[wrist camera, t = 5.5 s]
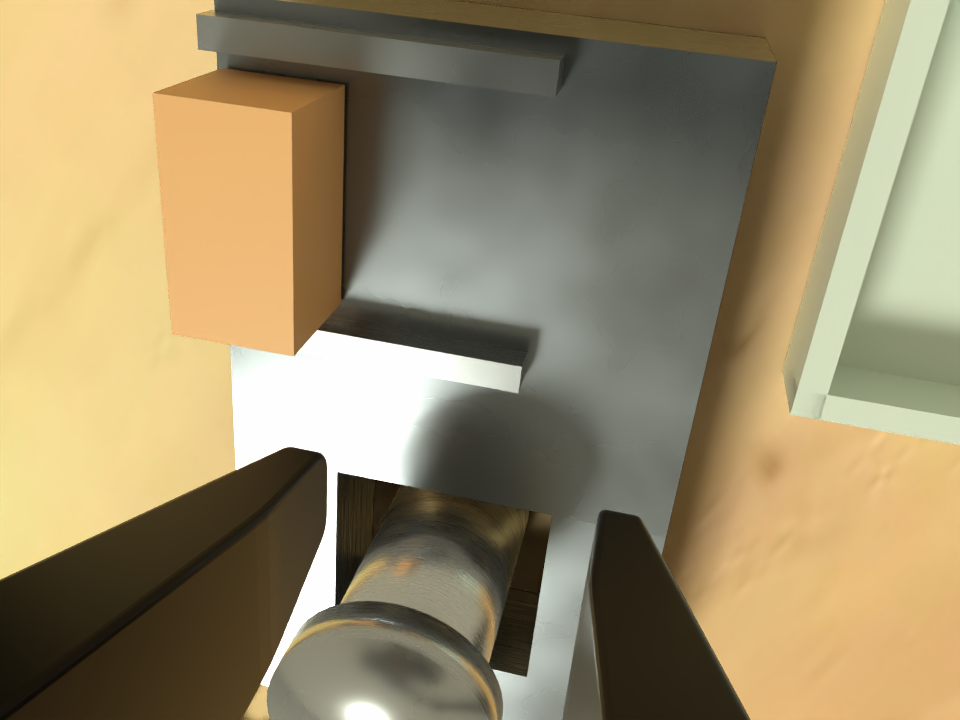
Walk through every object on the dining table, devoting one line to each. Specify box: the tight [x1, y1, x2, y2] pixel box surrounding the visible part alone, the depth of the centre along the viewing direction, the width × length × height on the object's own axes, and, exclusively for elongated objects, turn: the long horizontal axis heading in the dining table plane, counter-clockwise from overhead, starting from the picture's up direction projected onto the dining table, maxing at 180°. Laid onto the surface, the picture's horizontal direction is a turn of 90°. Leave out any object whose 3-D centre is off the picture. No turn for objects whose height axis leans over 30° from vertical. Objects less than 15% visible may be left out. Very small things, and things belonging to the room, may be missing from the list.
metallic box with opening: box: [196, 0, 777, 720], centre depth 21 cm, size 10×18×4 cm, turn 175°
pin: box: [267, 485, 529, 720], centre depth 21 cm, size 5×5×8 cm
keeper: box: [153, 68, 345, 356], centre depth 17 cm, size 2×4×2 cm, turn 175°
